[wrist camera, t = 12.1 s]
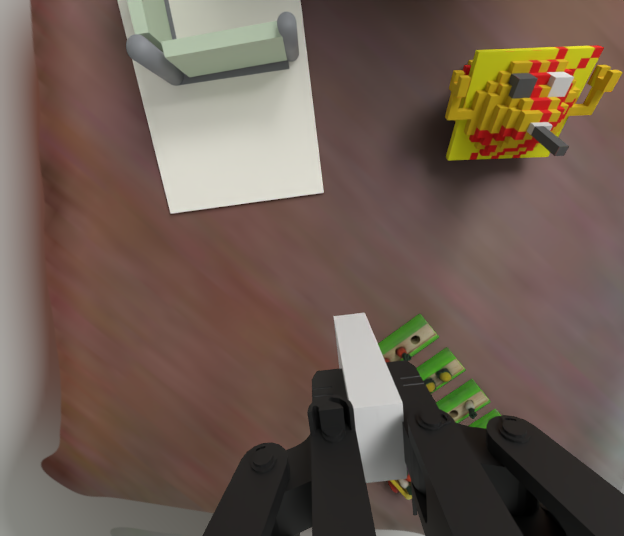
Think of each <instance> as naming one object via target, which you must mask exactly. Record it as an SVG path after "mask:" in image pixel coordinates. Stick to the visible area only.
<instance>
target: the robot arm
mask: <svg viewBox="0 0 624 536" xmlns="http://www.w3.org/2000/svg"><path fill="white" fill-rule="evenodd" d="M334 325H335V333H336V342H337V351H338V359H339V368H340V369H332V370H324V371H317V372H316V374H315V375H314V377H313V379H312V403H311V404H310V406H309V408H308V412H307V413H308V419H309V426H310V433H311V434H310V435H309V437H308V438H307V439H306V440H305V441H304V442H302V443H301V444H299V445H297V446H295V447H293V448H291V449H288V450H286V451H285V449H284V448H283V447H282V446H280V445H279V444H275V443H263V444H260V445H257V446H255V447H253V448H252V449H251V450H249V451H248V452H247V453H246V454H245V455H244V457H243V458H242V459H241V461H240V463H239V465H238V467H237V469H236V471H235V473H234V475H233V477H232V479H231V481H230V483H229V485H228V487H227V489H226V491H225V493H224V495H223V497H222V499H221V500H220V502H219V504H218V506H217V508H216V510H215V512H214V514H213V516H212V518H211V520H210V522H209V524H208V526H207V528H206V530H205V532H204V534H203V536H300V532H302V531H304V530H306V529H308V528H310V527H312V536H376V533H375V528H374V522H373V517H372V512H371V507H370V502H369V496H368V491H367V486H366V483H370V482H379V481H388V480H398V479H407V469H408V472H409V475H410V478H411V488H412V506H413V515H417V511H418V514H419V517H420V520H421V523H422V527H423V530H424V533H425V536H624V494H622V493H621V492H620V491H619V490H617V489H616V488H615V487H613V486H612V485H611V484H610V483H608V482H607V481H606V480H604V479H603V478H602V477H600V476H599V475H598V474H597V473H595V472H594V471H593V470H591V469H590V468H589V467H587V466H586V465H585V464H584V463H582V462H581V461H580V460H578V459H577V458H576V457H574V456H573V455H572V454H571V453H569V452H568V451H567V450H565V449H564V448H563V447H561V446H560V445H559V444H558V443H556V442H555V441H554V440H552V439H551V438H550V437H549V436H547V435H546V434H545V433H543V432H542V431H541V430H539V429H538V428H537V427H536V426H534V425H532V424H531V423H529V422H527V421H526V420H523V419H520V418H517V417H514V416H506V415H502V416H495V417H494V418H492V419H490V420H489V421H488V423H487V425H486V428H478V427H470V426H465V425H461V424H458V423H456V422H455V421H454V419H453V418H452V417H451V416H450V415H449V414H448V413H446V412H444V411H443V410H441V409H439V407H438V406H437V404H436V402H435V400H434V399H433V397H432V395H431V393H430V392H429V390H428V388H427V386H426V385H425V384H424V381H423V379H422V378H421V377H420V374H419V372H418V371H417V369H416V367H415V366H414V365H412V364H411V363H409V362H408V361H407V360H402V361H393V362H385V360H384V357H383V355H382V353H381V350H380V348H379V346H378V343H377V341H376V338H375V336H374V334H373V331H372V329H371V327H370V324H369V322H368V319H367V317H366V315H365V313H358V314H350V315H341V316H334ZM406 466H407V467H406Z"/></svg>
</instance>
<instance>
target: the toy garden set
mask: <svg viewBox="0 0 624 536" xmlns="http://www.w3.org/2000/svg"><path fill="white" fill-rule="evenodd" d="M415 335H416V336H417V338H416V339H414V340H411V338H412V337H413V336H415ZM438 338H439V336H438V335H437V334H436V332H435V331H434V330H433V329H432V328H431V326H430V325H429V324H428V323H427V322H426V320H425V319H424V318H423V317H422V315H421V314H418V315H417V316H416V317H414V318H413V319H411V320H410V321H409V322H407V323H406V324H405V325H403V326H402V327H400V328H399V329H398V330H396V331H395V332H393V333H392V334H391V335H389V336H388V337H387V338H385V339H384V340H382V341H381V342H380V343H378V346H379V348H380V350H381V353H382V355H383V357H384V360H385V362H393V361H402V360H407V361H408V360H410V359H411V357H412V356H414V355H415V354H417V353H418V352H419V351H421V350H422V349H424V348H425V347H426V346H428V345H429V344H431V343H432V342H434V341H435V340H436V339H438ZM416 369H417V371H418V372H419V374H420V377H421V378H422V379H423V381H424V384H425V385H426V386H427V388H428V390H429V392H430V393H433V392H434V391H436V390H437V389H439V388H440V387H442V386H443V385H445V384H446V383H448V382H449V381H451V380H452V379H454V378H455V377H457V376H458V375H460V374H461V373H463V372H464V371H465V370H466V369H465V368H464V367H463V366H462V364H461V363H460V362H459V361H458V360H457V359H456V357H455V356H454V355H453V354H452V352H451V351H450V350H449V349H448V348H447V347H446V348H445V349H443V350H442V351H440V352H439V353H437V354H436V355H435V356H433V357H432V358H430V359H429V360H427V361H426V362H425V363H423V364H422V365H420V366H419V367H417V368H416ZM490 402H491V401H490V400H489V399H488V397H487V396H486V395H485V394H484V393H483V391H482V390H481V389H480V388H479V386H478V385H477V384H476V383H475V382H474V380H473V379H471V380H469V381H468V382H466V383H465V384H463V385H462V386H460V387H459V388H457V389H456V390H454V391H453V392H451V393H450V394H448V395H447V396H445V397H444V398H442V399H441V400H439V401H438V402H436V404H437V406H438V407H439V409H441V410H443V411H444V412H446V413H448V414H449V415H450V416H451V417H452V418H453V419H454V421H455V422H456V423H459V422H461V421H462V420H464V419H465V418H467V417H468V416H470V417H471V418H472V419H474V418H475V417H476V416H477V414H476V411H478V410H479V409H481V408H482V407H484V406H486V405H487V404H489V403H490ZM495 416H501V415H500V413H499V412H498V411H497V410H496V409H494V410H492V411H491V412H489V413H488V414H486V415H485V416H483V417H481V418H480V419H478V420H477V421H475V422H474V423H472V424H471V425H469V426H470V427H478V428H486V425H487V423H488V421H489V420H490V419H492V418H494V417H495ZM406 467H407V466H406ZM388 483H389V486H390V487H391V489H392V490H393V491H394V492H395V493H397V492H399V491H400V492H401V493H402V495H403V496H404V497H405V498H406V499H407V500H410V499H412V488H411V478H410V475H409V472H408V469H407V479H398V480H388Z"/></svg>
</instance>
